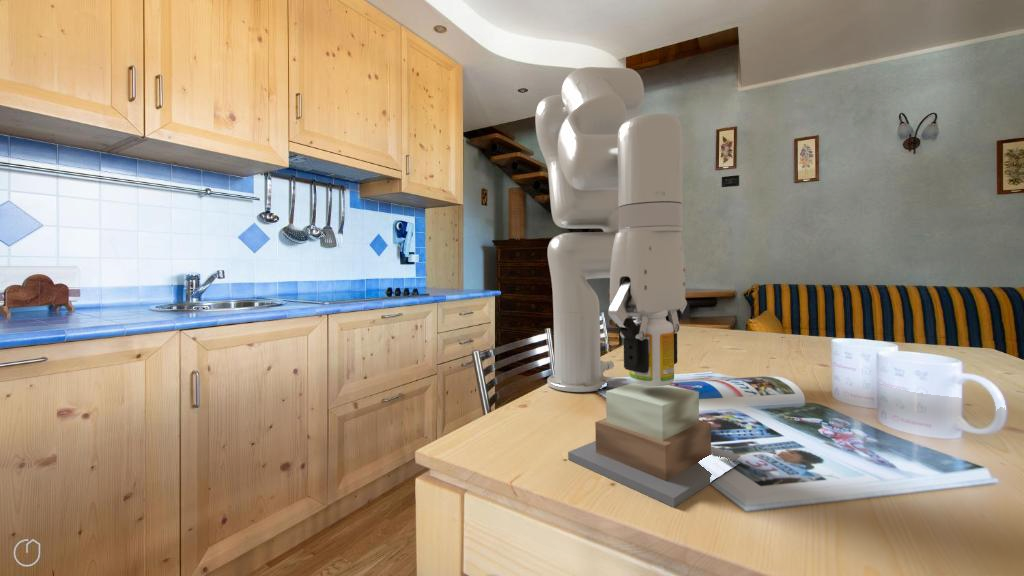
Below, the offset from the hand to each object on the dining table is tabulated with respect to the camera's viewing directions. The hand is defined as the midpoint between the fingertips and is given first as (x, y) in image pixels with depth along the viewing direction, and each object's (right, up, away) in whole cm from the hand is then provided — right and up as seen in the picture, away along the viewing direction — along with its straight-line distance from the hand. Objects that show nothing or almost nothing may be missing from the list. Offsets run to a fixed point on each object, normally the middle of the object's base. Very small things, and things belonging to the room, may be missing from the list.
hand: (651, 365), depth 55 cm
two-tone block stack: (0, -12, 0) cm, 12 cm away
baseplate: (0, -12, 0) cm, 12 cm away
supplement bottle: (0, -2, 0) cm, 2 cm away
